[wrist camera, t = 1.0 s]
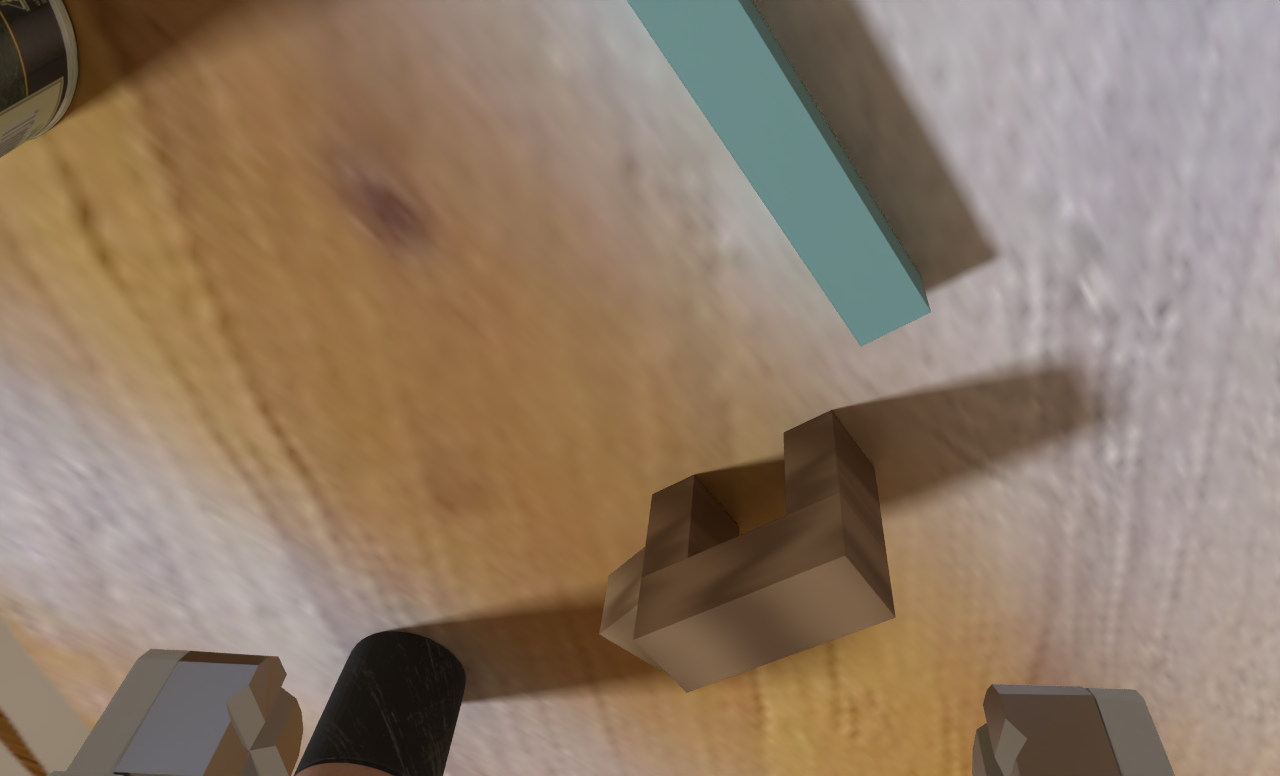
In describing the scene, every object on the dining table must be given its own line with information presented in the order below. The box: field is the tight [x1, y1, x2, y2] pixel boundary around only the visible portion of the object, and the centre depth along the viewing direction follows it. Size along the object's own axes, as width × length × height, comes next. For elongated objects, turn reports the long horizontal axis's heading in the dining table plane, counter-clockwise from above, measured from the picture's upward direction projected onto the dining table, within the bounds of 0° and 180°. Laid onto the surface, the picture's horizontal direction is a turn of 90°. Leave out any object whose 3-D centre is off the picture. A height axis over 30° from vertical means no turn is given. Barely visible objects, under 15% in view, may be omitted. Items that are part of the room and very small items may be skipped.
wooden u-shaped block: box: [633, 410, 895, 692], centre depth 43 cm, size 10×4×9 cm, turn 126°
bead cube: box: [599, 547, 663, 671], centre depth 50 cm, size 4×4×4 cm
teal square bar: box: [627, 0, 931, 346], centre depth 35 cm, size 3×22×3 cm, turn 35°
